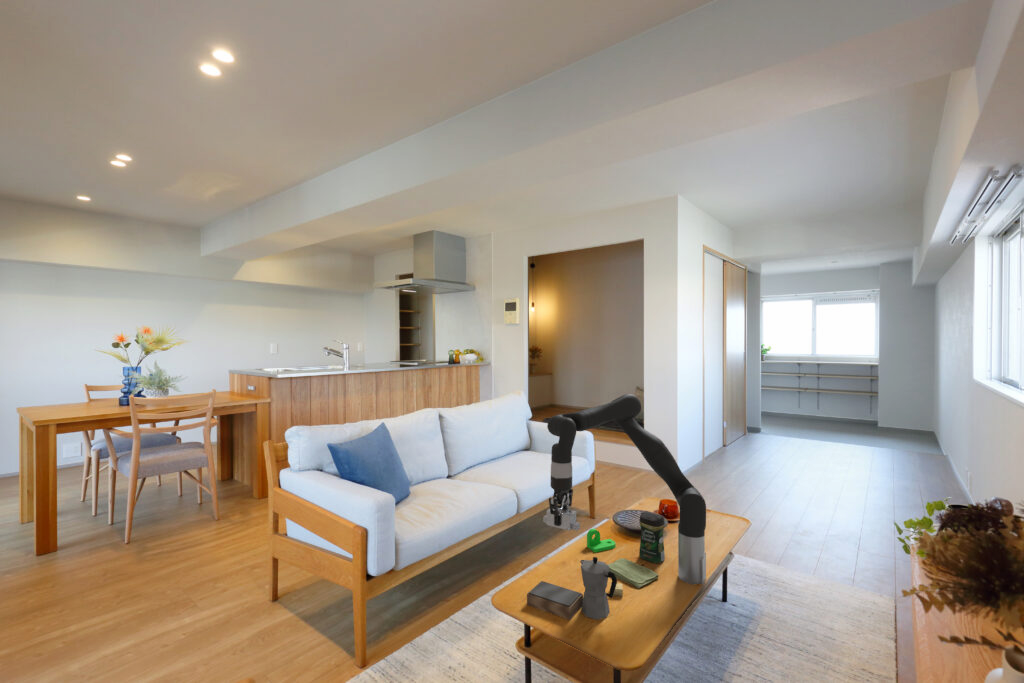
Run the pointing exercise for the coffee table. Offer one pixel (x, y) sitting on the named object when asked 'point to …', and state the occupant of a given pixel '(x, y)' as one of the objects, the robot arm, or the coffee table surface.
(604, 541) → the mechanical part
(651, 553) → the coffee jar
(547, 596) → the stand
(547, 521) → the block
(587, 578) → the coffeepot
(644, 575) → the washcloth
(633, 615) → the coffee table surface
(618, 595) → the brass block
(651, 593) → the coffee table surface
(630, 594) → the coffee table surface
